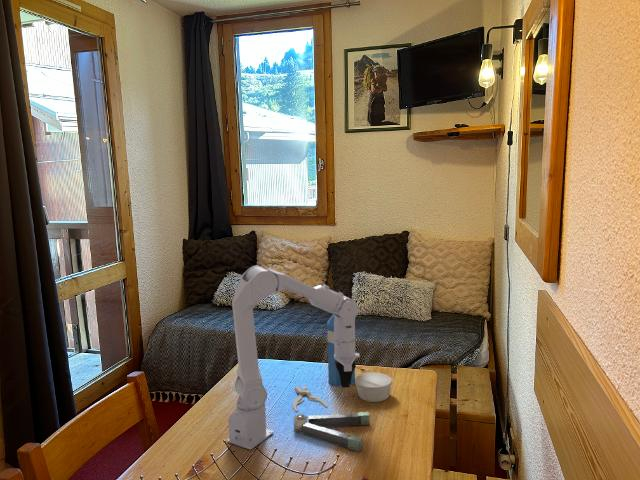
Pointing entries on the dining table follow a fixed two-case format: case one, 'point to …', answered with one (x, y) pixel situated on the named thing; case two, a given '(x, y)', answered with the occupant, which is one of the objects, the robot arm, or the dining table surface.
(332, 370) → the water bottle
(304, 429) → the tongs frame
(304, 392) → the pliers
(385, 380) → the ramekin
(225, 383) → the dining table surface
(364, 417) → the arm
